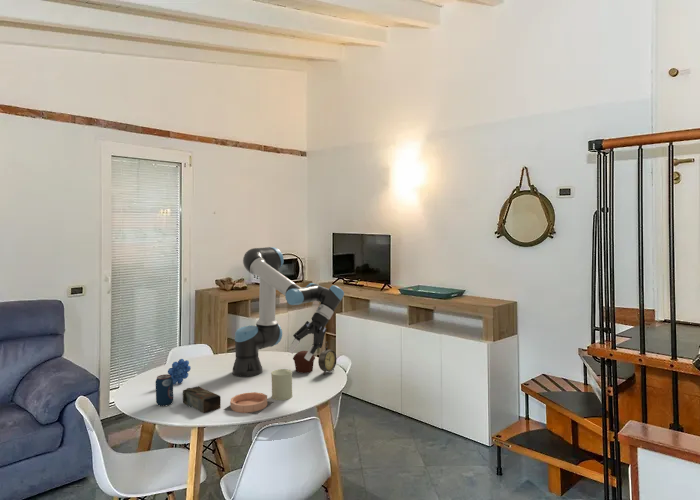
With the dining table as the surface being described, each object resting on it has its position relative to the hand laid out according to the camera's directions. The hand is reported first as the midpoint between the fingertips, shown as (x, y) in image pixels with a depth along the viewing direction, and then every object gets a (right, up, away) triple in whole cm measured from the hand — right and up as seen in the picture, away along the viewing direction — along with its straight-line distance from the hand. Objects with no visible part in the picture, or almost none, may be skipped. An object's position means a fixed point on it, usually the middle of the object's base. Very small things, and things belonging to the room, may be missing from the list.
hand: (298, 355), depth 213 cm
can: (-6, -18, -5) cm, 19 cm away
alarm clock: (+12, -16, +30) cm, 35 cm away
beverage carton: (-39, -19, -14) cm, 46 cm away
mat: (-19, -18, -16) cm, 30 cm away
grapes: (-60, -17, +17) cm, 65 cm away
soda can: (-56, -19, -10) cm, 60 cm away
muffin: (0, -16, +34) cm, 37 cm away
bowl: (-19, -17, -16) cm, 30 cm away
